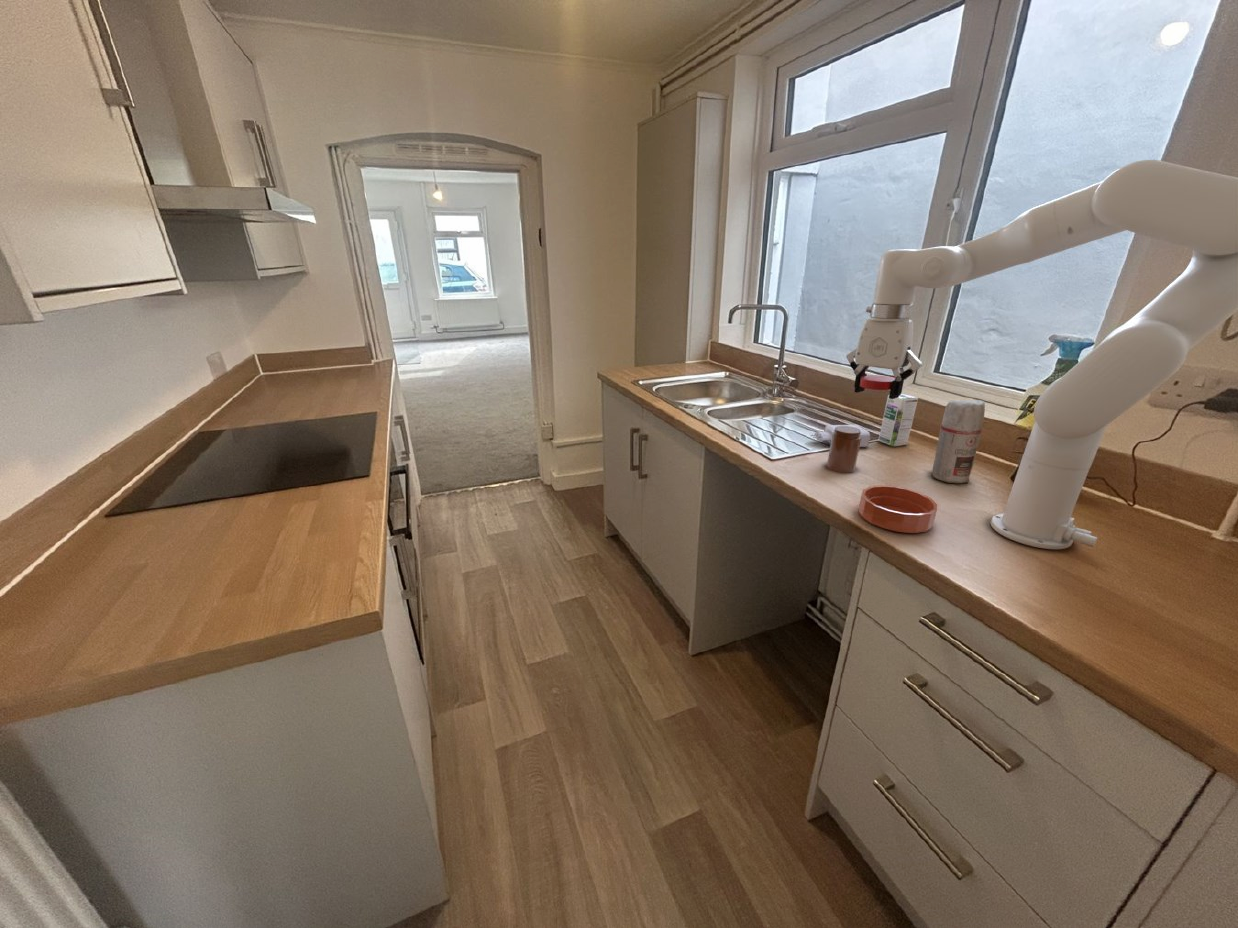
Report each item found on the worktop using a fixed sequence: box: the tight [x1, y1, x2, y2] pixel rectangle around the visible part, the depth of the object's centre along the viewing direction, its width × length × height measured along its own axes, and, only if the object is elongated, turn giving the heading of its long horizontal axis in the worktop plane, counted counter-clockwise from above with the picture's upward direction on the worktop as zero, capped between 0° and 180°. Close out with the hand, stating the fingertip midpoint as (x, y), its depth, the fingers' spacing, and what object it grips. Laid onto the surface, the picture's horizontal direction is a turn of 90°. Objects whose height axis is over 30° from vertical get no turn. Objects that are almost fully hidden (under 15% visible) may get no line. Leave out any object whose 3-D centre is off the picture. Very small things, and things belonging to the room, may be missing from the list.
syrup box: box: [878, 393, 919, 447], centre depth 141 cm, size 6×6×14 cm
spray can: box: [930, 399, 986, 484], centre depth 116 cm, size 8×8×20 cm
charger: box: [810, 424, 871, 448], centre depth 143 cm, size 5×9×15 cm
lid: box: [860, 374, 895, 391], centre depth 108 cm, size 7×7×2 cm
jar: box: [826, 426, 861, 474], centre depth 125 cm, size 7×7×11 cm
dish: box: [858, 485, 938, 534], centre depth 100 cm, size 14×14×4 cm
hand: (876, 394), depth 109 cm, fingers closed on lid, 7 cm apart
